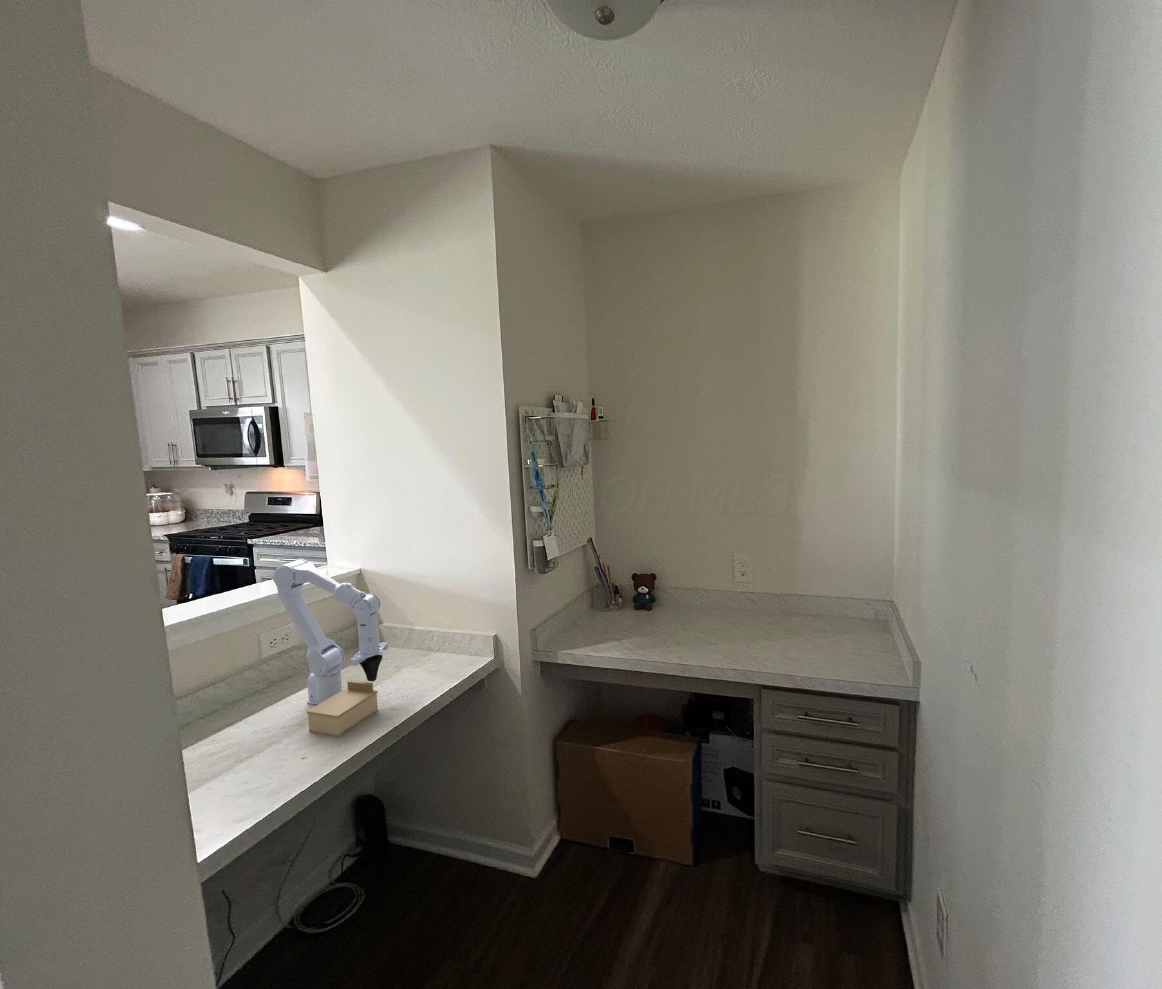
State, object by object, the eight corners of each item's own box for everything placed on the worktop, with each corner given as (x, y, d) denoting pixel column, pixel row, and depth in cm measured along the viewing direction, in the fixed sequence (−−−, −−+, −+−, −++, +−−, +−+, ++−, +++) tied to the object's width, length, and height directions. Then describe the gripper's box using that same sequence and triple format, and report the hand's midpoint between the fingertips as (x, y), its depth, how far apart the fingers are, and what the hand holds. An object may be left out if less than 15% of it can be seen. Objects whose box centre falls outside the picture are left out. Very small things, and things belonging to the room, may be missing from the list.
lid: (348, 688, 185) (347, 679, 185) (377, 692, 181) (376, 683, 181) (306, 713, 170) (305, 702, 169) (337, 718, 166) (336, 707, 166)
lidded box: (349, 706, 185) (348, 689, 185) (377, 710, 182) (376, 693, 181) (309, 731, 170) (307, 713, 170) (339, 736, 167) (337, 718, 166)
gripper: (363, 645, 177) (366, 691, 179) (395, 629, 191) (398, 672, 192) (343, 643, 180) (346, 689, 181) (376, 627, 193) (379, 670, 195)
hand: (371, 680), depth 187 cm, fingers closed
